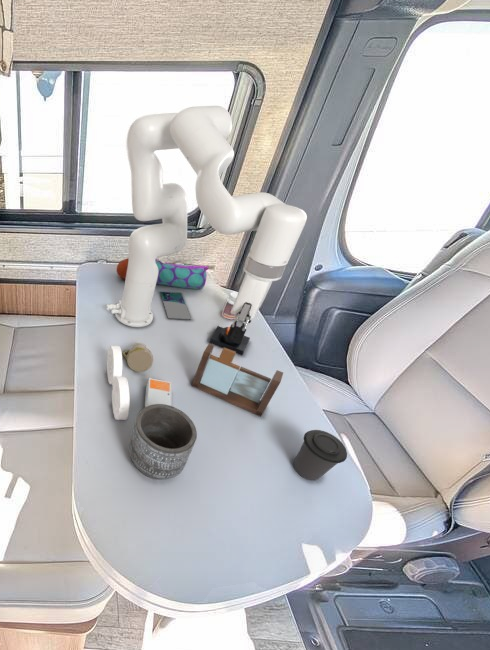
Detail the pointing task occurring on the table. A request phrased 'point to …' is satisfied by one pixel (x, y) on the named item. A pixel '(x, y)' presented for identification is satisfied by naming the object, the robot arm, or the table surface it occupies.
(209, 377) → the window pane
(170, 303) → the smartphone
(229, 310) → the pill bottle
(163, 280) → the pencil case
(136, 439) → the planter
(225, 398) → the window frame
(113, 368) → the letter
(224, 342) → the button housing
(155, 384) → the cosmetic box
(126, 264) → the fruit
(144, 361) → the mug
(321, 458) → the coffee cup
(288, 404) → the table surface
